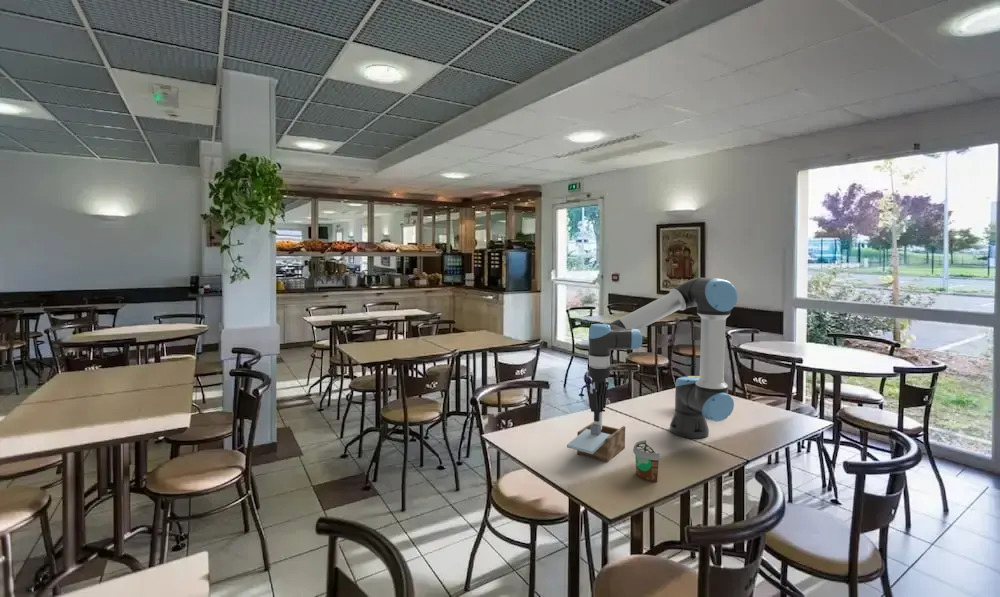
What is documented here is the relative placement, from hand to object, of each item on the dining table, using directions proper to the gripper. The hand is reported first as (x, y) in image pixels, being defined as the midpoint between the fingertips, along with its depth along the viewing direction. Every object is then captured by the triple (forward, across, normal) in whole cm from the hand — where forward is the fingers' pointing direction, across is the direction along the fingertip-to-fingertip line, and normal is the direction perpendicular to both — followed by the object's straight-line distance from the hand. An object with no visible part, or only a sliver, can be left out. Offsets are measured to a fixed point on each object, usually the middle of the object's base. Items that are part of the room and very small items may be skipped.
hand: (597, 428), depth 181 cm
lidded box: (+10, -3, 0) cm, 10 cm away
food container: (+10, +8, +20) cm, 24 cm away
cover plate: (+3, +7, 0) cm, 8 cm away
